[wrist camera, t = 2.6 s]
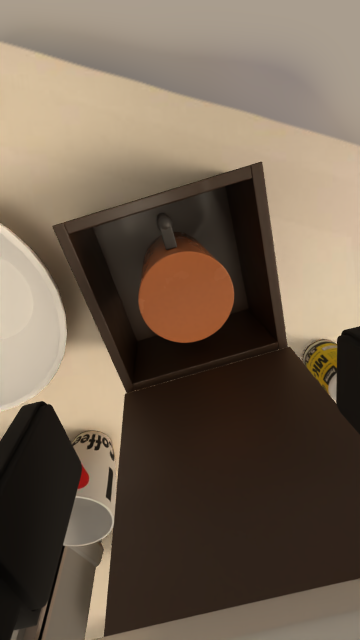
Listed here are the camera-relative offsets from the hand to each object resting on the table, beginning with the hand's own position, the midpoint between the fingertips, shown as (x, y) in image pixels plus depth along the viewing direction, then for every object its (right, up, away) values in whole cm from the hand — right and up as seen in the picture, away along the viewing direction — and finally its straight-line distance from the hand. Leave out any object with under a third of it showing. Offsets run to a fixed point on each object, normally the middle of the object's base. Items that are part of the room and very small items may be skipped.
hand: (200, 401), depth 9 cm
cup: (-13, -14, +29) cm, 35 cm away
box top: (+2, -5, +8) cm, 10 cm away
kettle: (-1, +8, +20) cm, 21 cm away
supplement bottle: (+17, -2, +27) cm, 32 cm away
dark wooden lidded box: (-1, +8, +21) cm, 22 cm away
